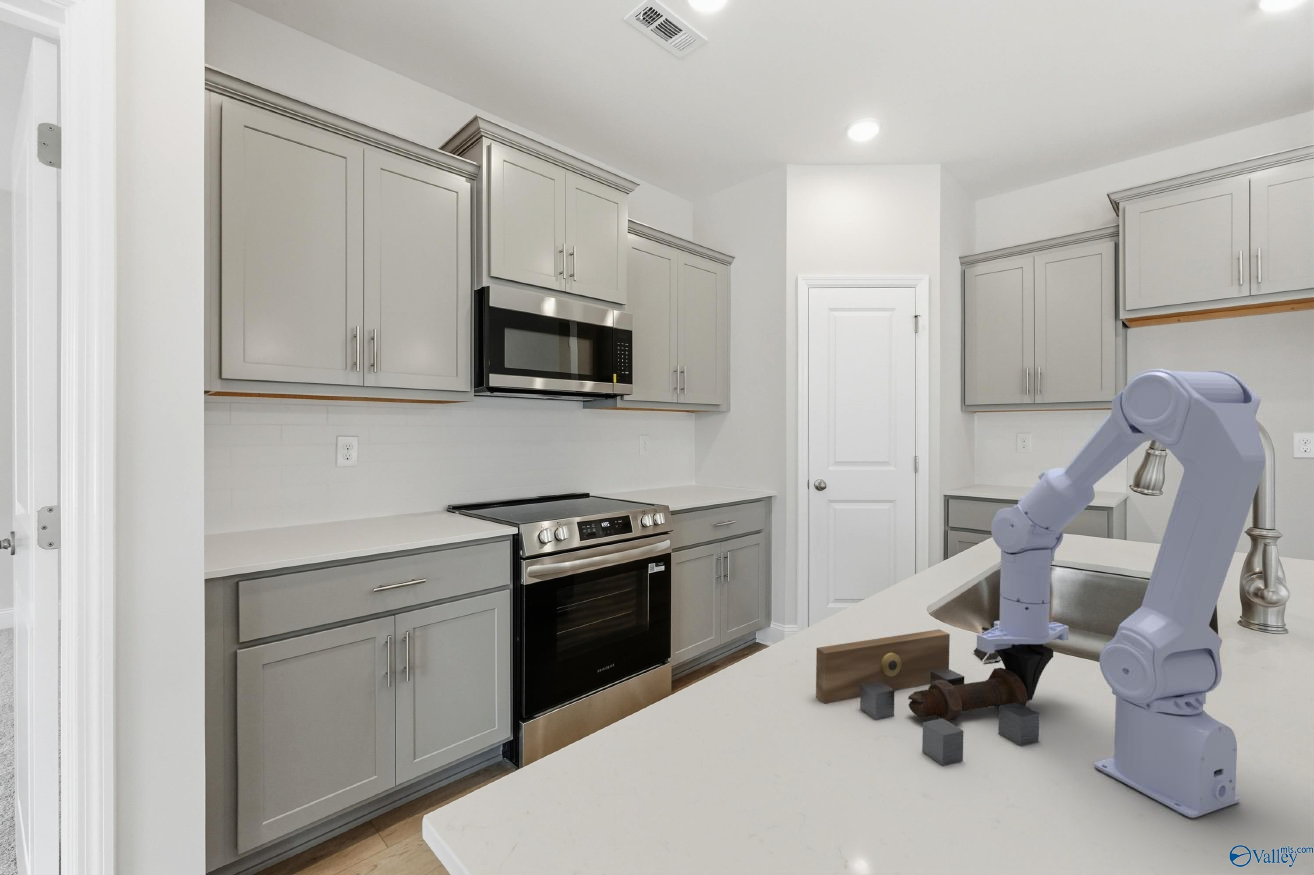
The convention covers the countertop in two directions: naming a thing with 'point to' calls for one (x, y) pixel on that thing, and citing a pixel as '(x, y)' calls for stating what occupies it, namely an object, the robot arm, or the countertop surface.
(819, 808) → the countertop surface
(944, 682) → the bolt
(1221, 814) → the countertop surface
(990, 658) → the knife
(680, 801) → the countertop surface
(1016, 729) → the gray stone cubes
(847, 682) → the aperture board
